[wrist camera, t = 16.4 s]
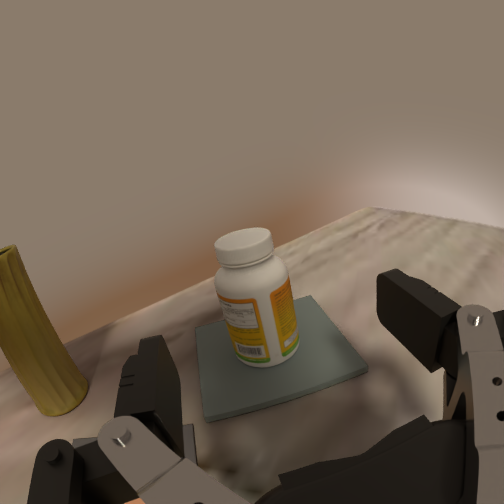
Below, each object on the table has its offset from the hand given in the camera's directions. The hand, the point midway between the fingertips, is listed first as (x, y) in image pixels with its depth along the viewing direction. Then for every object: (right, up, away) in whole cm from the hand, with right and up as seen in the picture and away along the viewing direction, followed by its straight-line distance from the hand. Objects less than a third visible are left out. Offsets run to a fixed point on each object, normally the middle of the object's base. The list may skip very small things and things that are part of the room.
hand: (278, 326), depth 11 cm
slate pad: (+1, -6, +15) cm, 16 cm away
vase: (-19, -11, +13) cm, 25 cm away
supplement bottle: (0, -5, +15) cm, 15 cm away
